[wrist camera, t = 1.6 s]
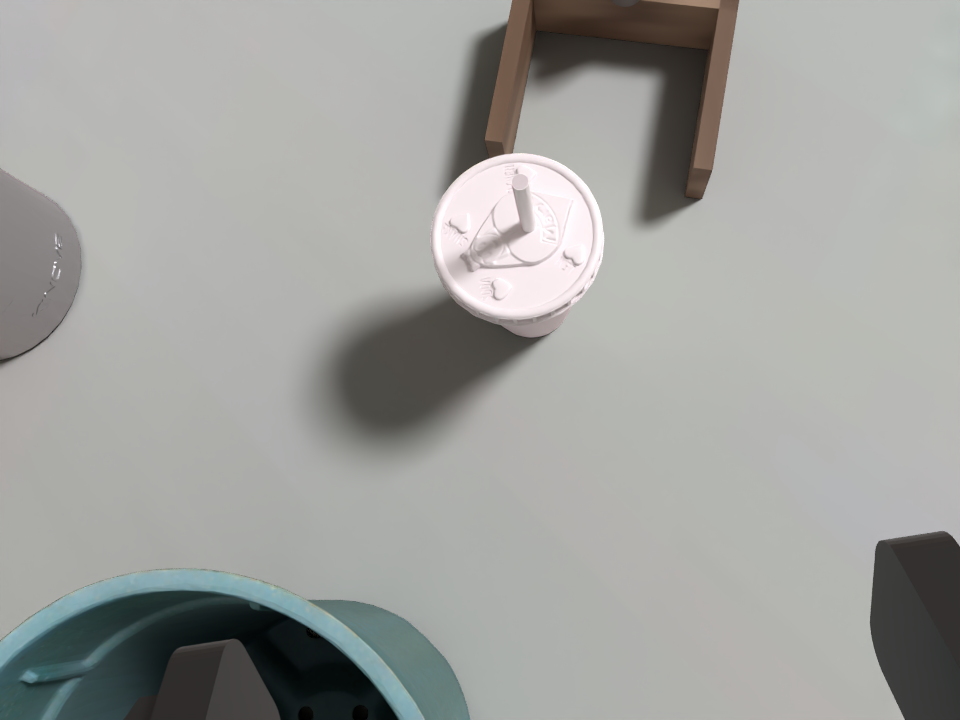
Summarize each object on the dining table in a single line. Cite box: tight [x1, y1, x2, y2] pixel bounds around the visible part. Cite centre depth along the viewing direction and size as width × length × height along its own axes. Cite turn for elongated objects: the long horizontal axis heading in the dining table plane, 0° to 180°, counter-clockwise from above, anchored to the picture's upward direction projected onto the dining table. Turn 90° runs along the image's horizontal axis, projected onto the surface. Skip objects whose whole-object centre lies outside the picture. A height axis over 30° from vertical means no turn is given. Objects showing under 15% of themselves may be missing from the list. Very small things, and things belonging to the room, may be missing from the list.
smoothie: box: [431, 153, 604, 337], centre depth 34 cm, size 6×6×14 cm
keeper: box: [485, 0, 739, 199], centre depth 40 cm, size 10×9×6 cm
